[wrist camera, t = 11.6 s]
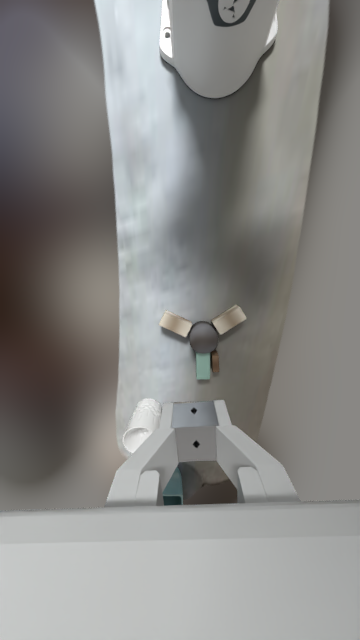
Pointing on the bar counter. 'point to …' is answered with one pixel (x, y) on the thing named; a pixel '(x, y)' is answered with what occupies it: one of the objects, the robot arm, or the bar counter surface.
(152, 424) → the white cup
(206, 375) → the green rectangular block
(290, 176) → the bar counter surface
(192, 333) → the stool base
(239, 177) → the bar counter surface
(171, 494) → the flower pot
